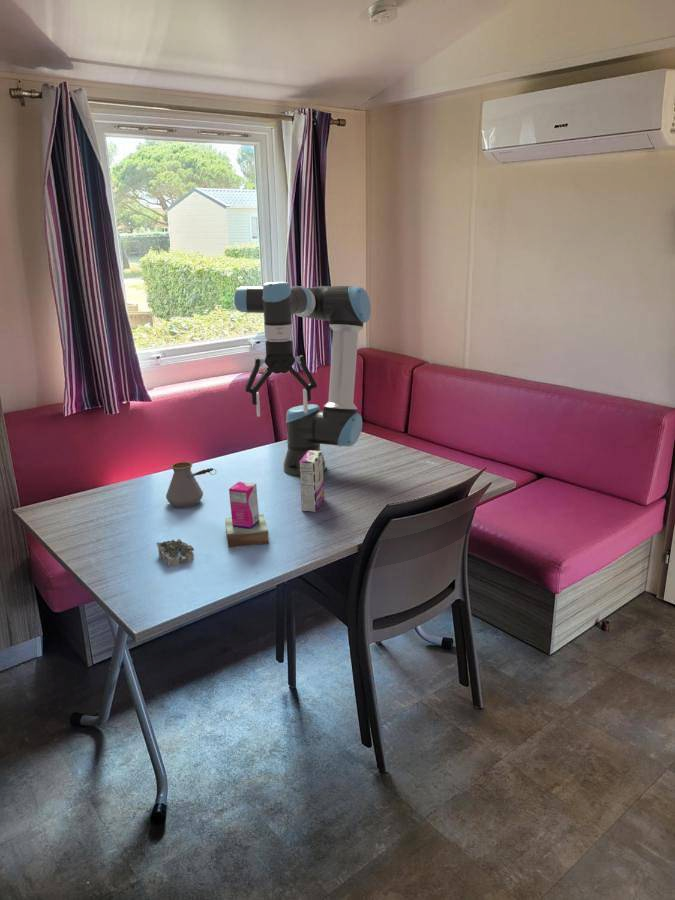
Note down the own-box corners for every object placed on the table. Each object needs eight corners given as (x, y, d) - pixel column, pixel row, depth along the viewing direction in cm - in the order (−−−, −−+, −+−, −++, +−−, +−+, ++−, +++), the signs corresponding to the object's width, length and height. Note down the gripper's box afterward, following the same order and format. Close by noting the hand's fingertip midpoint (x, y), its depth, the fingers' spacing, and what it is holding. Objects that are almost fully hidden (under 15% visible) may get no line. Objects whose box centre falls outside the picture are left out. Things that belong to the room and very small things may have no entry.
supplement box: (241, 518, 189) (238, 480, 186) (260, 521, 187) (257, 483, 184) (231, 526, 184) (228, 488, 181) (250, 529, 182) (247, 490, 179)
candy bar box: (309, 498, 214) (307, 449, 209) (324, 499, 213) (323, 450, 208) (300, 511, 203) (298, 461, 198) (316, 513, 202) (314, 462, 197)
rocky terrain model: (196, 562, 173) (195, 548, 172) (168, 570, 170) (167, 555, 168) (183, 547, 182) (182, 533, 181) (156, 554, 178) (154, 540, 177)
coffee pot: (159, 504, 211) (154, 459, 206) (188, 493, 219) (184, 450, 215) (202, 521, 198) (198, 474, 193) (231, 509, 206) (228, 463, 201)
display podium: (226, 531, 191) (225, 518, 190) (264, 527, 193) (263, 514, 192) (228, 547, 181) (227, 534, 180) (268, 543, 183) (267, 530, 182)
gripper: (234, 343, 178) (239, 420, 185) (325, 339, 183) (327, 414, 190) (232, 339, 185) (237, 413, 192) (320, 335, 190) (322, 407, 197)
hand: (282, 414), depth 191 cm, fingers open, 13 cm apart
